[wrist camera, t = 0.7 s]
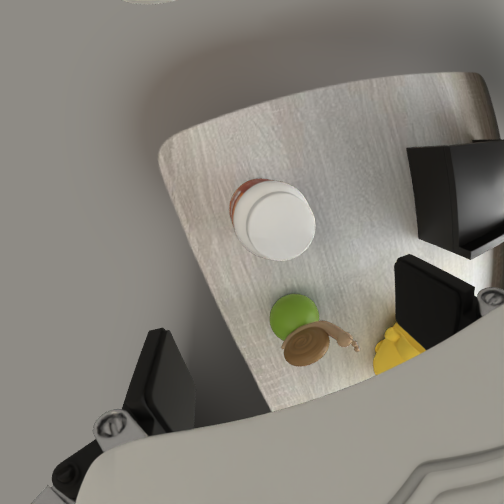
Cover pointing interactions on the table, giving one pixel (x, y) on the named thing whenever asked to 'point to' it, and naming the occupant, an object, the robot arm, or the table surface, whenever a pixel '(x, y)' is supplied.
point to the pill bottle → (272, 219)
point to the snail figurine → (304, 330)
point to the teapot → (395, 349)
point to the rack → (460, 195)
